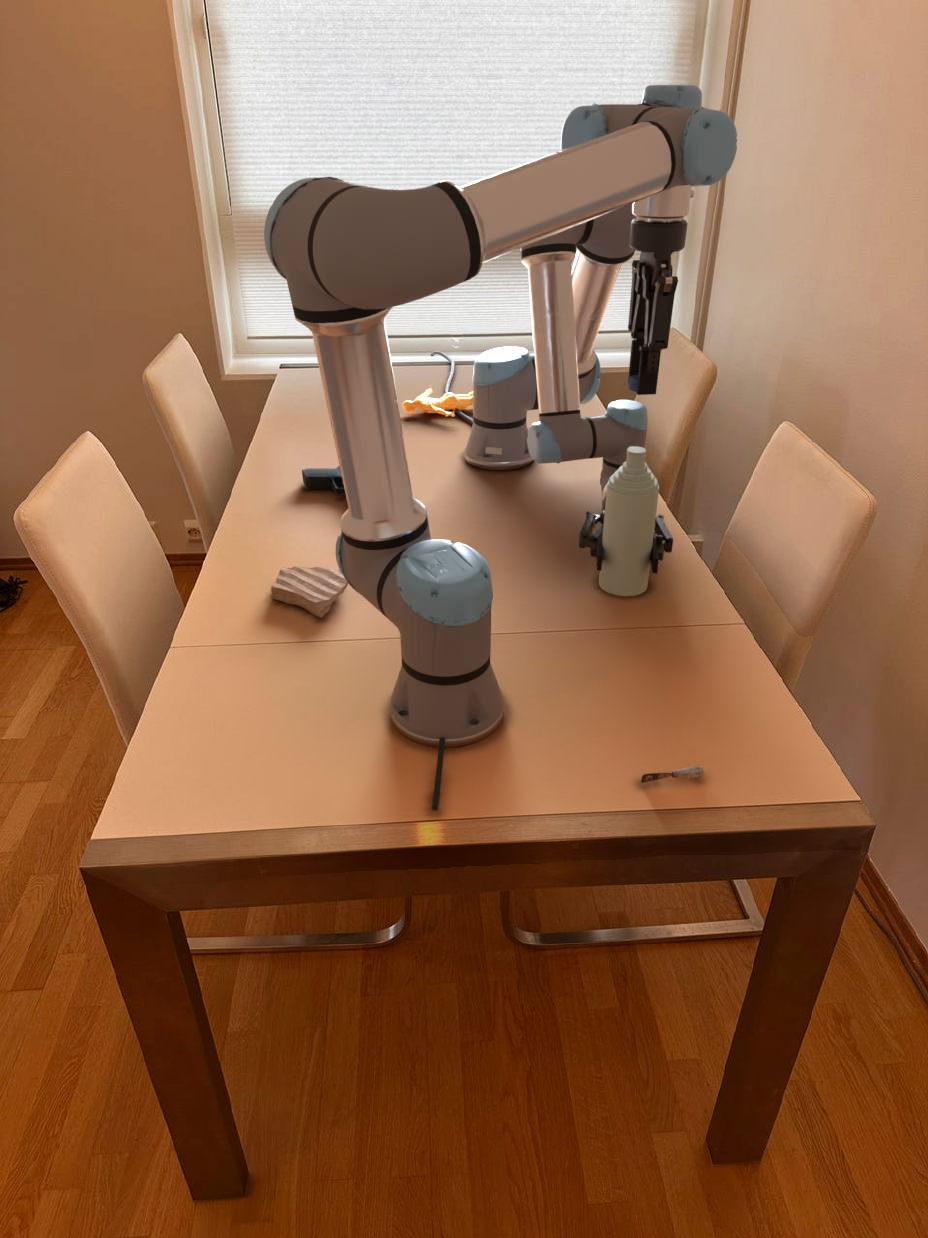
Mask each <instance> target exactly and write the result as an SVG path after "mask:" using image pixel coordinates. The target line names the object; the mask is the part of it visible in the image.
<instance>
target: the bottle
mask: <svg viewBox="0 0 928 1238" xmlns="http://www.w3.org/2000/svg"><path fill="white" fill-rule="evenodd" d="M626 454H627V458H626V461H625V462H624V463H623V465H622V466H620V467H619V469H618V470H617V471H615V473H614V474H613V475H612V476H611V477H610V480H609V481H608V483H607V492H606V503H605V515H604V526H603V538H602V553H603V557H602V568H601V571H599V575H598V585H599V587H600V589H601V590H602V591H604V592H605V593H608V594H610V595H614V596H617V597H618V596H619V597H634V596H639V595H641V594H643V593H645V592H646V590H647V589H648V585H649V577H650V570H651V569H650V567H651V553H652V544H653V536H654V532H655V531H654V528H655V519H656V517H657V510H658V501H659V493H660V484H659V481H658V479H657V478H656V477H655V474H654V473H653V472H652V469H651V468H650V467H649V465H648V463H647V462H646V457H647V449H646V448H645V447H644V448H642V447H637V446H634V447H629V448H628V449H627V453H626Z"/></svg>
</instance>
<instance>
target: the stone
mask: <svg viewBox="0 0 928 1238" xmlns="http://www.w3.org/2000/svg"><path fill="white" fill-rule="evenodd" d="M348 586H349V584H348V582H347V581H346V579H345V578H344V576H343V575H342V573H341V571H340V569H335V568H331V567H329V566H314V567H307V566H302V565H301V566H299V565H297V566H295V565H294V566H292V567H282V568H280V569H279V573H278V574H277V577H276V580H275V583H274V584H273V585H272V586H271V587H270V592H271V593H270V598H271V599H274V600H276V601H279V602H283V603H286V604H288V605H294V606H297V607H301V608H303V609H304V610H306V611H308V612H309V613H310V614H312V615H314V616H315V617H317V618H321V619H322V618H323V617H324V616H325V615H326V614H328V613H329V612H330V610H331V607H332V604H333V603H334V601H335V600H337V599H338V597H339V596H340V595H342V594H343V593H344V592H345V590H346V589H347V587H348Z"/></svg>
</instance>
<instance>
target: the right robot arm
mask: <svg viewBox="0 0 928 1238" xmlns="http://www.w3.org/2000/svg"><path fill="white" fill-rule="evenodd" d="M634 218H636V216H635V215H633V213H632V204H629V205H627V206H624V207H622V208H619V209H617V210H614V211H612V212H609V213H607V214H604V215H602V216H599V217H597V218H594V219H592V220H589V221H587V222H584V223H582V224H579V225H577V226H574V227H572V228H569V229H567V230H564V231H562V232H559V233H557V234H554V235H552V236H549V237H547V238H544V239H542V240H539V241H537V242H534V243H532V244H529V245H527V246H524V247H522V248H519V250H520V262H521V263H522V264H523V265H524V267H526V269H527V276H528V289H529V290H528V291H529V303H530V304H529V305H530V316H531V328H532V329H531V330H532V342H533V343H532V344H533V353H529V351H528V349H526V348H524V347H521V346H501V347H495V348H492V349H489V350H486V351H484V352H482V353H481V354H479V355H478V356H477V357H476V358H475V360H474V362H473V369H472V370H473V371H472V378H471V382H472V392H473V405H472V417H470V416H469V415H466V414H465V413H463V412H462V410H458V409H455V410H453V411H455V412H454V413H456V414H457V415H458V416H459V417H461V418H462V419H464V420H465V421H467V422H468V423H470V424H472V426H471V428H470V431H469V435H468V438H467V441H466V444H465V448H464V459H465V461H466V462H467V463H468V464H470V465H471V466H474V467H476V468H479V469H483V470H490V471H510V470H515V469H516V470H517V469H520V468H523V467H526V466H528V465H530V464H531V463H533V462H535V463H537V464H538V465H543V464H561V463H564V462H572V461H581V460H589V459H599V458H602V466H601V471H600V478H599V484H600V488H601V512H600V513H599V514H595V513H594V512H592V511H591V510H586V511H585V513H584V523H583V525H582V527H581V529H580V532H579V538H578V548H579V549H586V548H588V549H589V550H588V554H589V556H590V558H595V559H596V561H595V563H596V564H595V565H596V572H597V571H598V572H600V571H601V568H602V557H603V553H602V538H603V526H604V515H605V503H606V492H607V483H608V481H609V480H610V477H611V476H612V475H613V474H614V473H615V471H617V470H618V469H619V467H620V466H622V465H623V463H624V462H625V461H626V458H627V454H626V453H627V449H628V448H629V447H634V446H637V447H642V448H645V445H646V439H647V432H648V408H647V407H646V405H644V404H643V403H641V402H640V401H636V400H632V399H618V400H615V401H611V402H609V403H608V405H607V406H606V411H605V415H595V416H585V417H582V414H581V405H585V404H588V403H589V402H591V401H592V400H593V399H594V397H595V396H596V394H597V392H598V390H599V386H600V383H601V379H600V376H601V372H602V371H601V370H602V369H601V363H600V358H599V357H598V355H597V354H596V353H597V352H596V351H595V349H594V347H595V343H596V340H597V337H598V334H599V331H600V329H601V326H602V322H603V319H604V317H605V314H606V311H607V308H608V305H609V302H610V299H611V296H612V293H613V291H614V287H615V284H616V283H617V279H618V276H619V273H620V270H621V268H622V265H623V264H625V263H628V262H629V261H630V260H631V259H632V258H633V257H634V255H635V254H636V253H635V252H636V250H634V249H632V248H631V247H630V245H629V241H630V230H631V221H633V219H634ZM573 261H574V262H573ZM572 262H573V265H572ZM435 355H438V356H441V357H442V358H443V359H446V360H447V362H450V372H449V374H448V379H447V381H446V384H445V389H444V394H446V393H450V387H451V383H452V380H453V377H454V374H455V366H456V364H455V361H454V359H452V357H450V356H449V355H448V354H446V353H444V352H442V351H439V350H433V351H432V352H431V354H430V356H429V357H434V356H435ZM536 410H538V420H537V421H536V422H533V423H531V424H530V425H529V426H527V415H528V412H529V411H536ZM664 518H665V516H664V514H659V513H658V514H656V519H655V528H654V536H653V544H652V553H651V561H650V567H651V574H655V575H657V574H658V571H659V570H658V569H659V561H663V560H664V555H665V553H666V554H667V553H668V554H670V553H672V552H673V546H674V545H673V544H674V537H673V535H672V533H671V531H670V530H669V528H668V526H667V525H666V523H665V521H664ZM598 523H599V524H600V526H599V527H598V528H597V529H596V530H594V528H596V525H598ZM593 530H594V532H593Z"/></svg>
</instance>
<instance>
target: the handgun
mask: <svg viewBox="0 0 928 1238" xmlns="http://www.w3.org/2000/svg"><path fill="white" fill-rule="evenodd" d="M301 476H302V482H303V485H304V487H305V490H333V492H334V493H335V495H337V496H338V495H346V494H345V489H344V484H343V480H342V475H341V470H340V465H338V466H337V467H336V468H332V467H331V468H329V467H327V468H326V467H325V468H323V467H313V468H312V467H311V468H304V469H301Z"/></svg>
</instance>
